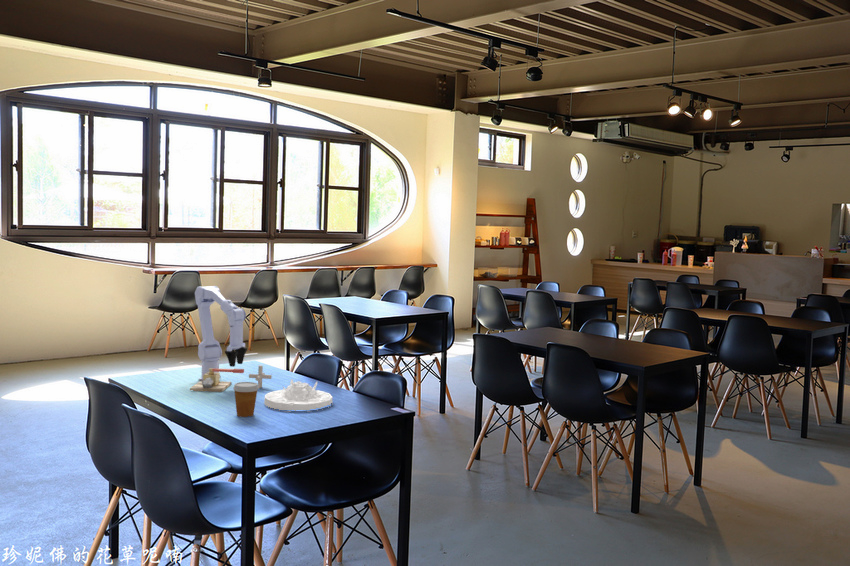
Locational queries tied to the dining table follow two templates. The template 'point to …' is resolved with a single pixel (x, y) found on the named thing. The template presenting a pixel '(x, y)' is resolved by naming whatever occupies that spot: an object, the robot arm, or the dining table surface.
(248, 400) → the disposable coffee cup
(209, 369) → the lever
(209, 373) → the ball valve
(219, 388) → the mounting board
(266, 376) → the pipe connector
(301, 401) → the cake
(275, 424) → the dining table surface
